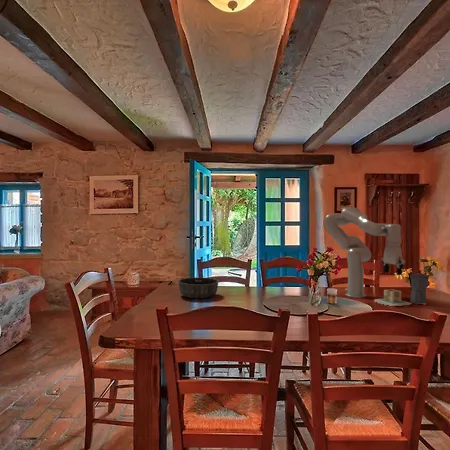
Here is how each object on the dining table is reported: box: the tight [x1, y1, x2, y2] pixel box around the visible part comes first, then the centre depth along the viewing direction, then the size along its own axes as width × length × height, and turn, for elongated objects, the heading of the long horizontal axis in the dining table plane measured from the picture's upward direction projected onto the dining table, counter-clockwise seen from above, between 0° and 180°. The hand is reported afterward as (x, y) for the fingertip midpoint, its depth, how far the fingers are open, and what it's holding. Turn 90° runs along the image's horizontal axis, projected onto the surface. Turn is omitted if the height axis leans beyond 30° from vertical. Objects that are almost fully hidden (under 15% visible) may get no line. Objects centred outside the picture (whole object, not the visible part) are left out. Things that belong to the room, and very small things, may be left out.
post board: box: [374, 298, 413, 307], centre depth 198 cm, size 14×14×2 cm
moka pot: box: [408, 269, 430, 304], centre depth 200 cm, size 10×15×20 cm, turn 15°
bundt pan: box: [177, 276, 220, 299], centre depth 216 cm, size 26×26×10 cm
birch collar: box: [383, 288, 402, 302], centre depth 199 cm, size 6×6×6 cm
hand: (392, 273), depth 198 cm, fingers open, 9 cm apart
